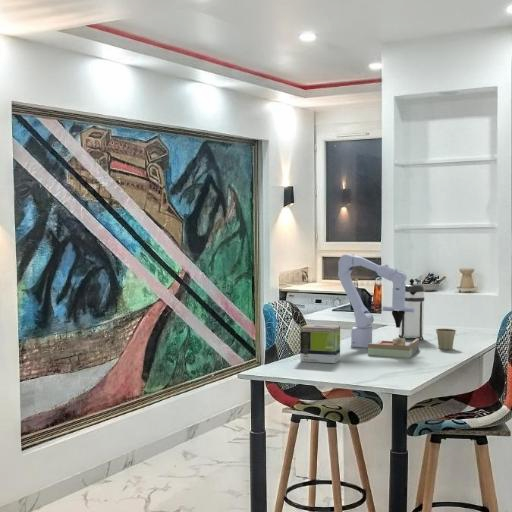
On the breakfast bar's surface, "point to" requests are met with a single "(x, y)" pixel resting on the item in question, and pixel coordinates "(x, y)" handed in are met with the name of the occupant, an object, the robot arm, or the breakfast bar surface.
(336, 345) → the tea box
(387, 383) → the breakfast bar surface
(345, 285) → the robot arm
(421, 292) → the coffee press
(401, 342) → the maple block
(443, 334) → the flower pot
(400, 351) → the box
